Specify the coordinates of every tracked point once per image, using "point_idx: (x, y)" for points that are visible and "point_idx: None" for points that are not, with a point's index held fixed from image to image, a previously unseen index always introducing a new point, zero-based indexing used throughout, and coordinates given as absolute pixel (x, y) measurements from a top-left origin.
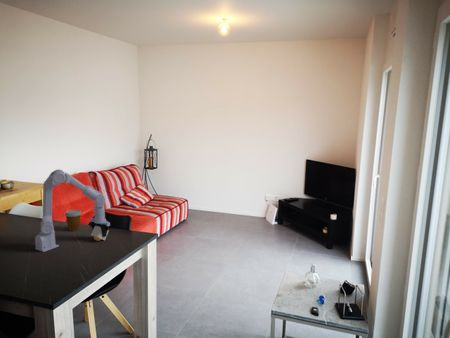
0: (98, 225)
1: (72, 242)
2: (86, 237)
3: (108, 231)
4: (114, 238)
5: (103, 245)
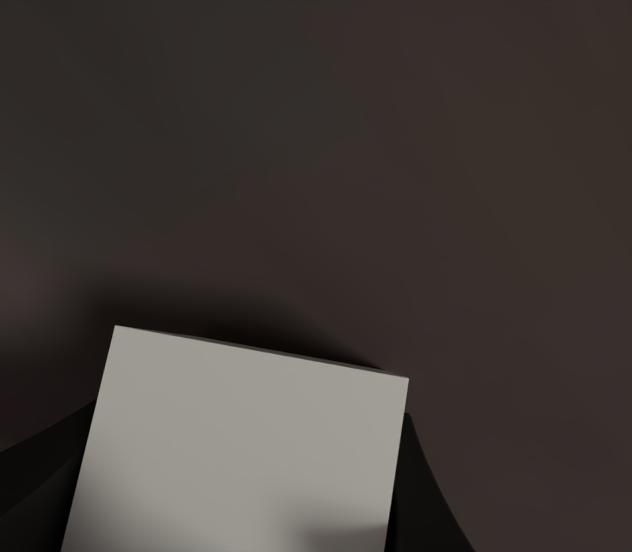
0: (33, 515)
1: None
2: (28, 367)
3: (403, 381)
4: (517, 234)
5: (505, 525)
